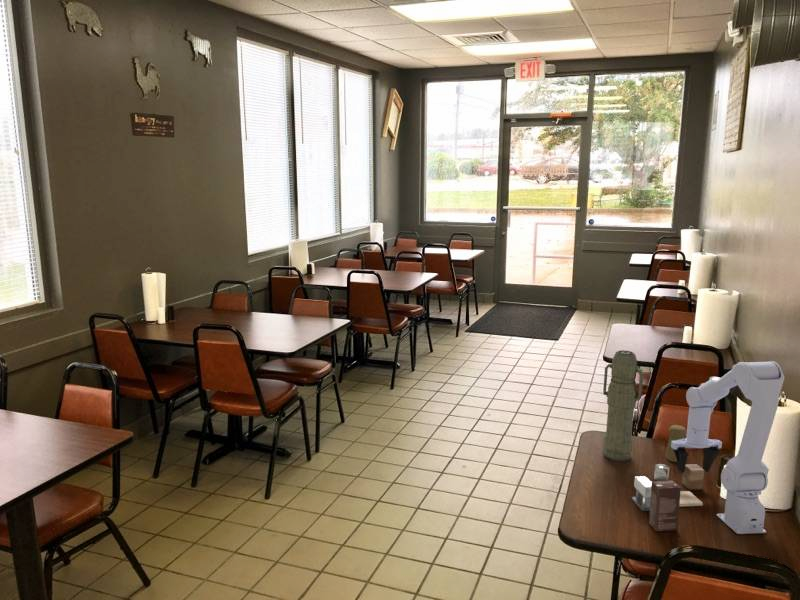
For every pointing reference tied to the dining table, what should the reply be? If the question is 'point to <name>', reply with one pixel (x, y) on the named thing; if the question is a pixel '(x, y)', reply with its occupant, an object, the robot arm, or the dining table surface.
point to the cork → (675, 434)
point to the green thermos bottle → (621, 405)
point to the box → (664, 505)
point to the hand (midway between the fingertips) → (693, 470)
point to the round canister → (661, 472)
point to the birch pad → (689, 499)
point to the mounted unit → (642, 492)
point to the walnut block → (693, 476)
